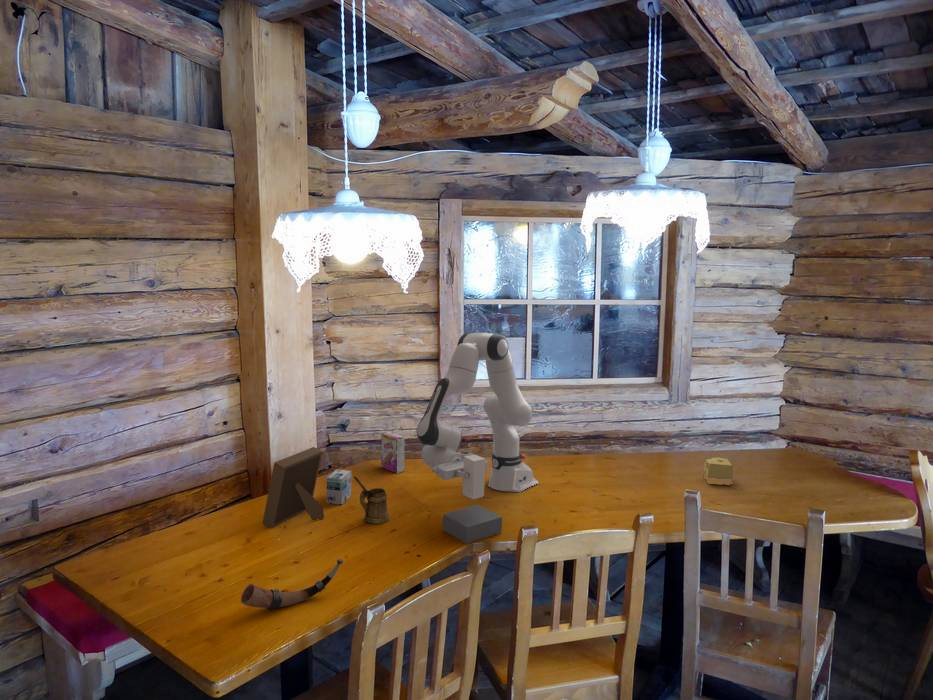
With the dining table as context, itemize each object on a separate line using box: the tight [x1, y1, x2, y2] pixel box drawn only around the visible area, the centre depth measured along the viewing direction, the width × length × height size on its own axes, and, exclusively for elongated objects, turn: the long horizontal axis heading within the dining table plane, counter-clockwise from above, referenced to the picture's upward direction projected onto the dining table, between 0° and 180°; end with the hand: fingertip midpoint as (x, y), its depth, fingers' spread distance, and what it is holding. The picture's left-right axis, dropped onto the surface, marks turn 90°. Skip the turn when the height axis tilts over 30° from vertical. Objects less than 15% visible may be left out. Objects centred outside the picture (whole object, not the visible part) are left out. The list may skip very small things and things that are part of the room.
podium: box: [442, 504, 503, 545], centre depth 251 cm, size 16×14×6 cm
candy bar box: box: [380, 431, 406, 474], centre depth 314 cm, size 11×5×16 cm, turn 46°
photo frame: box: [261, 446, 325, 530], centre depth 255 cm, size 15×22×25 cm
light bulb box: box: [326, 468, 352, 505], centre depth 277 cm, size 11×7×11 cm, turn 168°
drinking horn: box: [240, 558, 344, 610], centre depth 199 cm, size 6×30×10 cm, turn 125°
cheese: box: [702, 457, 734, 480], centre depth 312 cm, size 10×11×10 cm
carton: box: [462, 454, 486, 500], centre depth 249 cm, size 5×6×14 cm
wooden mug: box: [353, 475, 390, 525], centre depth 258 cm, size 9×14×18 cm, turn 115°
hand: (475, 474), depth 248 cm, fingers closed on carton, 5 cm apart
